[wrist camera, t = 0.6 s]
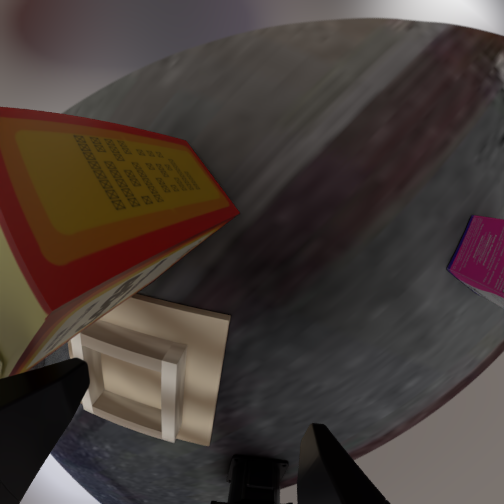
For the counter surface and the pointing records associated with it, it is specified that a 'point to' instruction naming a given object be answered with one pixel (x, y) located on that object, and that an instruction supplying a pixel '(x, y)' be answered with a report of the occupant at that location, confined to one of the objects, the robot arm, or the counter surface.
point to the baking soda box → (89, 223)
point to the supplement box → (481, 258)
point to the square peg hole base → (155, 367)
